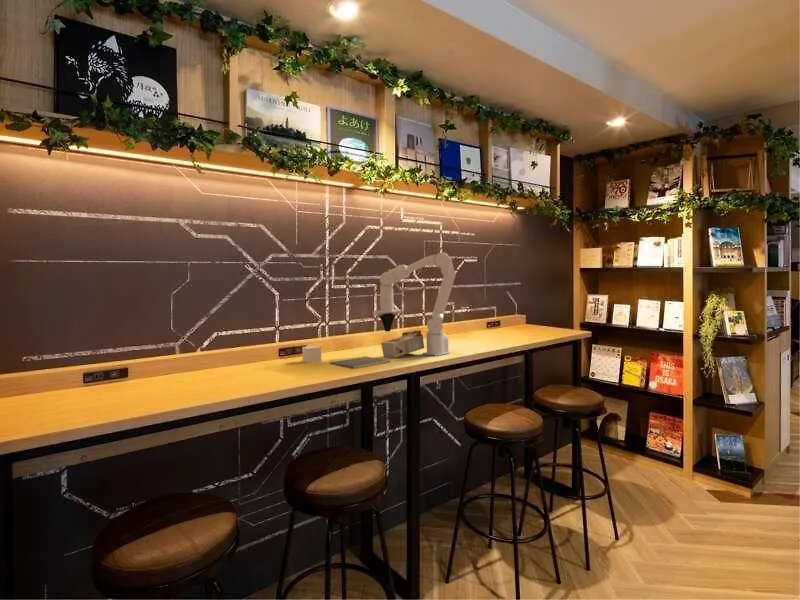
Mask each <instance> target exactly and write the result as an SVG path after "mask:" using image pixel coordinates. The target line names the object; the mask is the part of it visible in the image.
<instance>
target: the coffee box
mask: <svg viewBox="0 0 800 600" xmlns="http://www.w3.org/2000/svg"><path fill="white" fill-rule="evenodd" d="M380 345H381V350H382V354H383V355H382V356H383V357H384V356H385V358H386V357H387V358H394V359H395V358H399V357H402V356H405V355H408V354H410V353H414V352H417V351H420V350H422V349H425V345H424V336H423V334H419V333H407V334H404V335H401V336H398V337H395V338H393V339H392V338H391V339H389V340H386V341H383V342H381V344H380Z"/></svg>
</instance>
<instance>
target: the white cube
mask: <svg viewBox="0 0 800 600" xmlns="http://www.w3.org/2000/svg"><path fill="white" fill-rule="evenodd" d="M301 352H302V353H301V355H302V357H301V358H302V359H301V360H302V362H303V361H304V362H303V363H305V362H306V364H312V363H311V362H315V363H322V347H321V346H318V345H309V346H302V347H301Z"/></svg>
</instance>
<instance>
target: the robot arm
mask: <svg viewBox="0 0 800 600" xmlns="http://www.w3.org/2000/svg"><path fill="white" fill-rule="evenodd" d="M427 266H430V267H434V266H435V267H436V268H438V270H439V271H440V272H441V273H442V275H443V276H442V277H443V278H442V281H441V285H440V289H439V291H438V294H437V298H436V301H435V304H434V308H433V311H432V314H431V316H430V318H429V319H428V320H427V322H426V328H427V329H428V331H426V352H425V351H424V352H422V355H427V356H433V355H434V357H437V355H438V356H442V355H446V354H447V355H448V354H451V351H449V337H448V335H447V334H446V333H444V332H443V331H442V330H443V328H444V326H443V325H444V324H443V321H444V314H445V311H446V308H447V304H448V301H449V298H450V294H451V291H452V288H453V285H454V282H455V278H456V271H455V268H454V264H453V259H452V258H451V257H450V256H449V255H448V254H447V253H446V252H443V251H442V252H441V251H440V252H438V253H437V254H431V255H428V256H426V257H423V258H421V259H419V260H417V261H415V262H413V263H411V264H409V265H406V264H398V265H397V267H395V268H392V269H388V270H387V271H384V272H383V273H382V274H381V275H380V276H379V282H380V290H379V294H380V295H379V297H380V300H379V301H380V310H373V311H372V316H374V317H378V316H379V319H380V321H381V323H382V325H383V328H384V332H387V333H388V332H391V329H392V325H393V322H394V320H395V318H396V315H399V314H402V313H401V312H402V309H400V308H399V309H398V308H397V309H394V308H395V307H394V306H395V305H394V304H395V303H394V289H393V288H394V285H393V283H397V282H400V281H402V280H403V279H407V278H408V277H410V276H411V275H410V274H411V273H412V272H414V271H417V270H420V269H421V268H425V267H427Z"/></svg>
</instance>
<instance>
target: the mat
mask: <svg viewBox="0 0 800 600" xmlns="http://www.w3.org/2000/svg"><path fill="white" fill-rule="evenodd" d="M387 362H389V363H392V362H391V360H389V359H382V358H377V357H371V356H360V357H353V358H347V359H341V360H333V361H330V362H329V365H334V364H336V365H335V366H339V365H340V366H339V367H344V366H345V368H348V367H350V368H349V369H353V368H356V369H360V368H359V367H361V368H366V367H365V366H367V367H372V366H377V365H376V364H378V365H382V364H381V363H384V364H388V363H387ZM371 365H372V366H371Z"/></svg>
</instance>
